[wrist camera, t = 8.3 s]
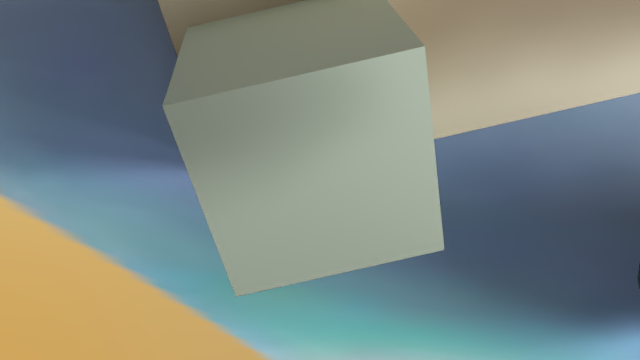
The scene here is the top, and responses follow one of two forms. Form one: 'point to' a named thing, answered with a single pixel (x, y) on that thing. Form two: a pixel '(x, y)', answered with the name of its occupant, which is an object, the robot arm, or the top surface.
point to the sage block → (308, 140)
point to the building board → (493, 52)
